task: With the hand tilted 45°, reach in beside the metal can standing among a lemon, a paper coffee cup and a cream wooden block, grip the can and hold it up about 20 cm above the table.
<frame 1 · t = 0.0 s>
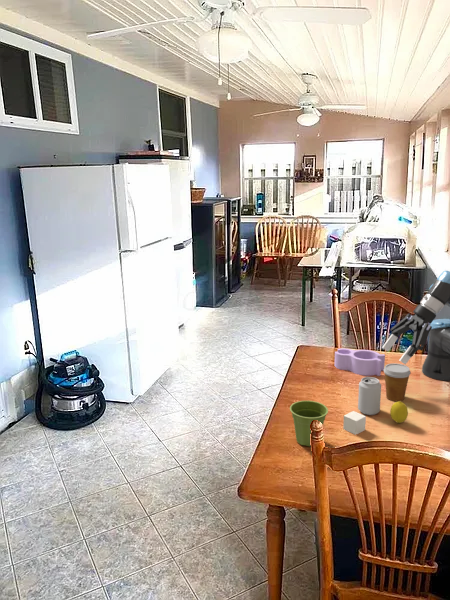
hand: (393, 355, 185), 15 cm above the table, tool tilted 35°, fingers open, 13 cm apart
plant pot: (308, 441, 158), on the table
lemon: (398, 423, 167), on the table
clip: (358, 369, 213), on the table
cream wooden block: (354, 429, 164), on the table
disposable coffee cup: (395, 398, 186), on the table
can: (368, 411, 176), on the table
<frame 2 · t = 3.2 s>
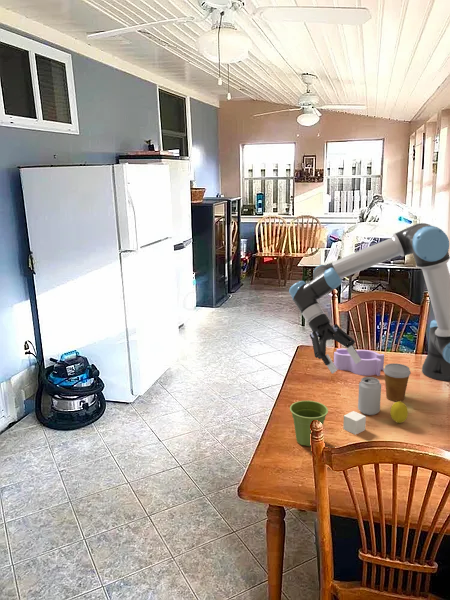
hand: (347, 367, 180), 14 cm above the table, tool tilted 45°, fingers open, 13 cm apart
nothing on the table moved.
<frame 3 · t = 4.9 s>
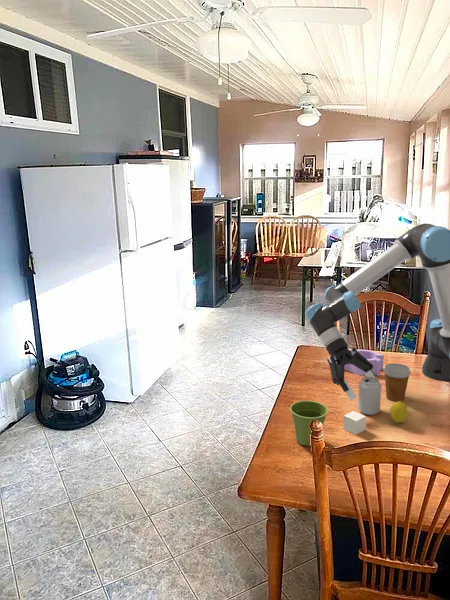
hand: (366, 393, 175), 7 cm above the table, tool tilted 45°, fingers open, 13 cm apart
nothing on the table moved.
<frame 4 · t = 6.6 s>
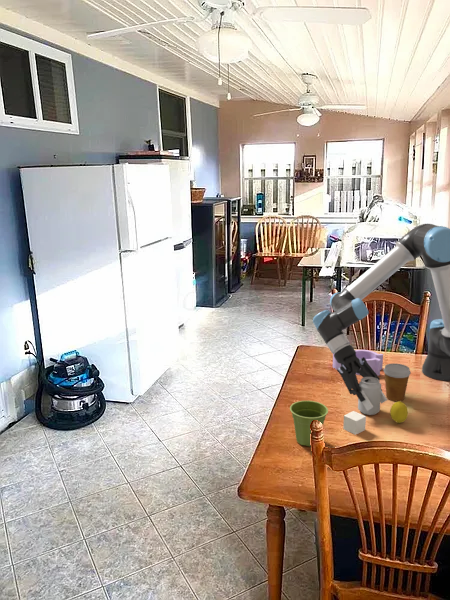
hand: (377, 405, 172), 4 cm above the table, tool tilted 45°, fingers closed on can, 7 cm apart
can: (368, 411, 176), on the table, touching gripper
everything else where it was.
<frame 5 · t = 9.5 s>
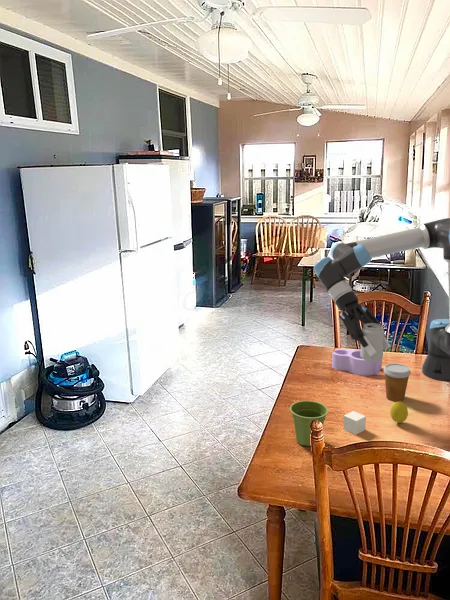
hand: (380, 351, 167), 23 cm above the table, tool tilted 45°, fingers closed on can, 7 cm apart
can: (371, 359, 171), point 20 cm above the table, touching gripper
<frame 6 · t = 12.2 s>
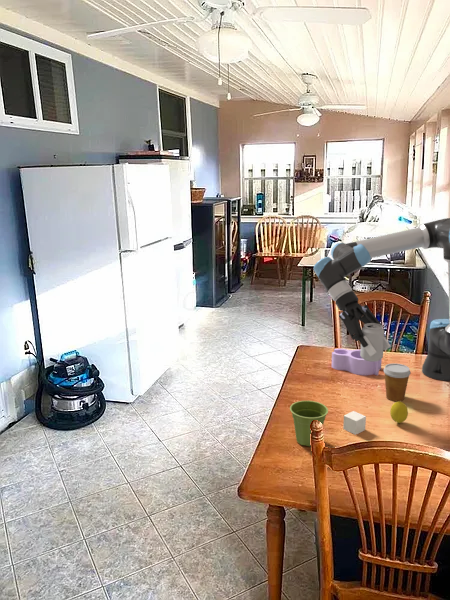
hand: (380, 351, 167), 23 cm above the table, tool tilted 45°, fingers closed on can, 7 cm apart
can: (371, 358, 171), point 20 cm above the table, touching gripper
at the end: the gripper is holding can; can point 19.7 cm above the table; lemon moved 0.2 cm from its start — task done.
